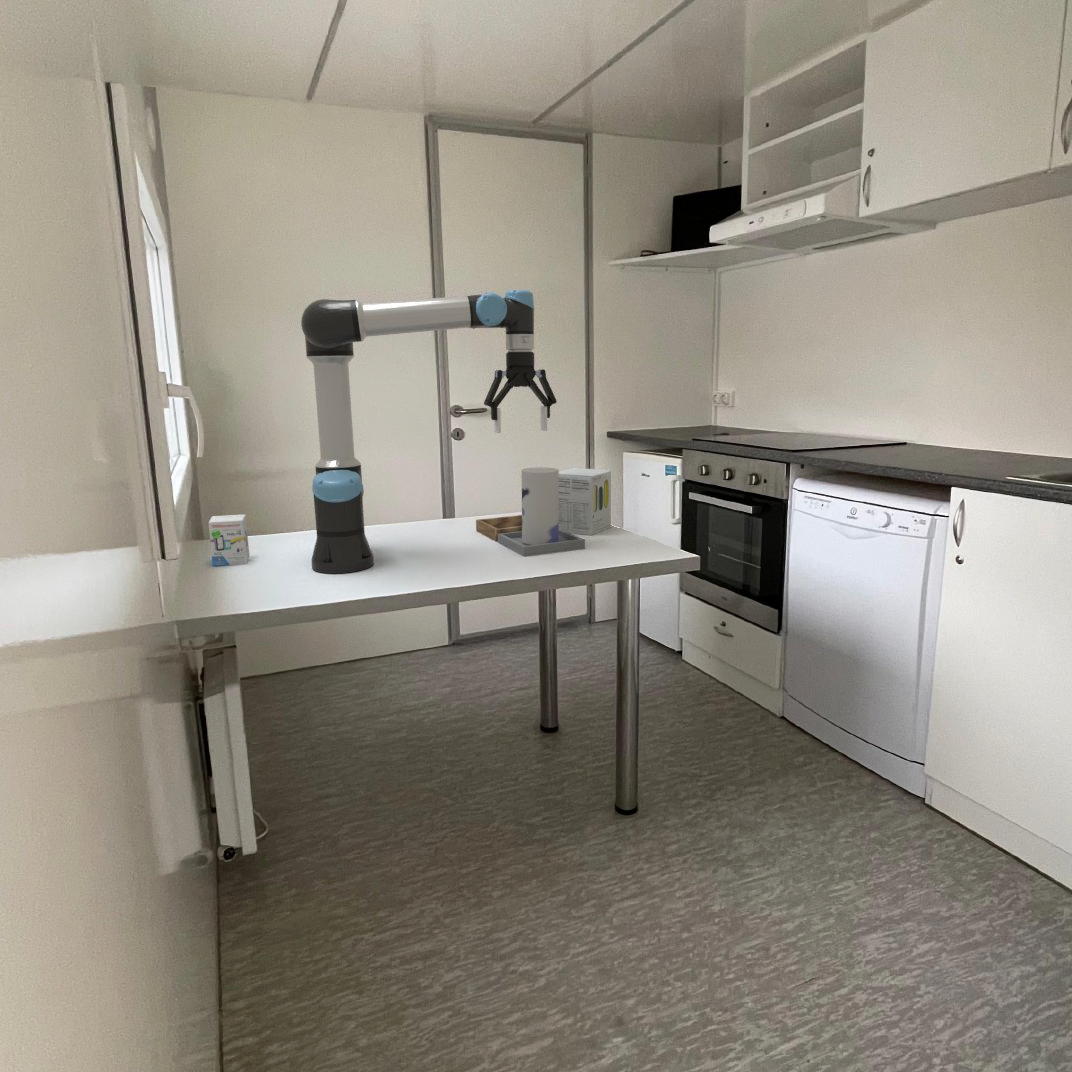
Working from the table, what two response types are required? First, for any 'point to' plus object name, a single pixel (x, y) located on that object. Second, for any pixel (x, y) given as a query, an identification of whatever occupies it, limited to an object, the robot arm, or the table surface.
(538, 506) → the container
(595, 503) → the supplement box
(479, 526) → the frame
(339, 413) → the robot arm
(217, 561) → the ink box
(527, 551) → the tray
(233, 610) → the table surface
